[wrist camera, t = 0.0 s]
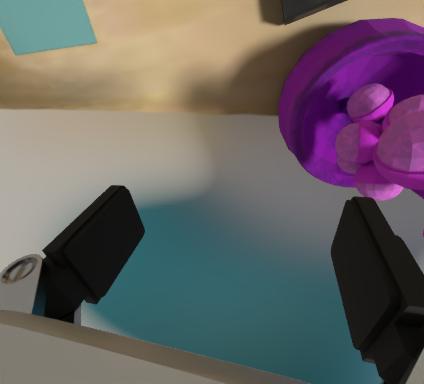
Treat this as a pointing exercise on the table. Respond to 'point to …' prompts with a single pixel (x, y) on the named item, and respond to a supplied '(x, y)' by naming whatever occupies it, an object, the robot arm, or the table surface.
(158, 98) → the table surface
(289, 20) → the portable cd player
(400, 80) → the decorative plant
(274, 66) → the table surface
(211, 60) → the table surface
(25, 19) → the mat
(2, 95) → the table surface
